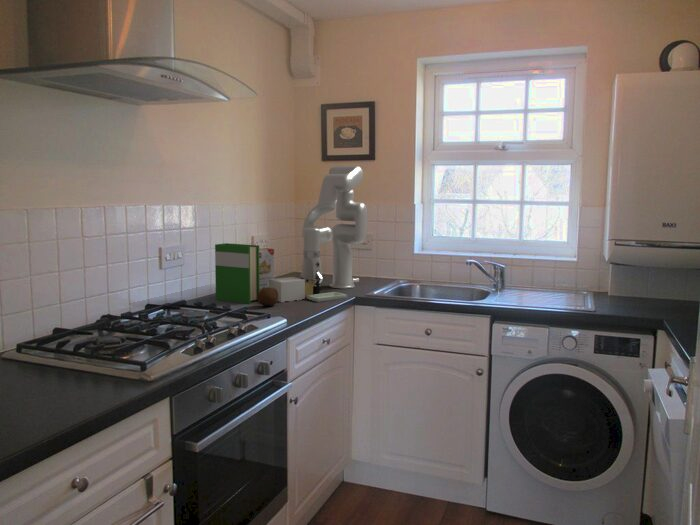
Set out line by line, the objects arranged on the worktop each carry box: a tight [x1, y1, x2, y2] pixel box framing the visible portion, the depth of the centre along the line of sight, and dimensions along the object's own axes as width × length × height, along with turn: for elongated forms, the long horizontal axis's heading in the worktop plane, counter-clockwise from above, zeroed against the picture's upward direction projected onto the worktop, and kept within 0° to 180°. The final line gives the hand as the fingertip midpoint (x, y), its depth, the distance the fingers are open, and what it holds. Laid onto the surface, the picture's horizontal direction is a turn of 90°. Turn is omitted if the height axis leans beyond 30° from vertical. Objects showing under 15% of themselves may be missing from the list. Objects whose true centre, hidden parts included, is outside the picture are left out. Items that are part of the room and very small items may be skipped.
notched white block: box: [269, 276, 306, 303], centre depth 250 cm, size 13×11×9 cm
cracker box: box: [259, 247, 275, 292], centre depth 260 cm, size 14×6×21 cm, turn 143°
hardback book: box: [214, 242, 260, 304], centre depth 245 cm, size 18×7×24 cm, turn 64°
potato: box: [257, 287, 278, 307], centre depth 233 cm, size 7×10×8 cm
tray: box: [306, 291, 348, 303], centre depth 252 cm, size 16×8×2 cm, turn 128°
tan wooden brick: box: [305, 281, 314, 297], centre depth 255 cm, size 12×3×6 cm, turn 128°
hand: (311, 293), depth 258 cm, fingers open, 7 cm apart
